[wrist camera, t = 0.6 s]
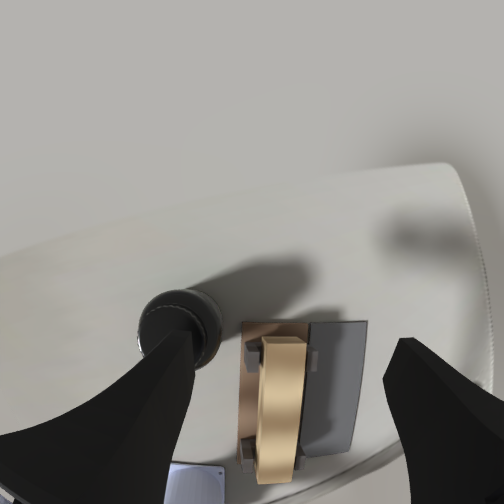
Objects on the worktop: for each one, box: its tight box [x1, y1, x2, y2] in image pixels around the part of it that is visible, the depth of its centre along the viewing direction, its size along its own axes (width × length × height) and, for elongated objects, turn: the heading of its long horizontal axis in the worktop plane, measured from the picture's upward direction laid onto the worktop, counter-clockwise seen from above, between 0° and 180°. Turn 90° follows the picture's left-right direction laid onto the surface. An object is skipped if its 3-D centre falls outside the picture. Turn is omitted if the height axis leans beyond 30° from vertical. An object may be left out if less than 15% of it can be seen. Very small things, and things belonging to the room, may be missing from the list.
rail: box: [254, 336, 307, 484], centre depth 25 cm, size 16×4×4 cm, turn 177°
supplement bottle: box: [137, 289, 223, 371], centre depth 24 cm, size 7×7×12 cm
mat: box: [299, 322, 367, 458], centre depth 30 cm, size 18×7×1 cm, turn 177°
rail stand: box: [237, 322, 318, 473], centre depth 27 cm, size 18×7×6 cm, turn 177°
